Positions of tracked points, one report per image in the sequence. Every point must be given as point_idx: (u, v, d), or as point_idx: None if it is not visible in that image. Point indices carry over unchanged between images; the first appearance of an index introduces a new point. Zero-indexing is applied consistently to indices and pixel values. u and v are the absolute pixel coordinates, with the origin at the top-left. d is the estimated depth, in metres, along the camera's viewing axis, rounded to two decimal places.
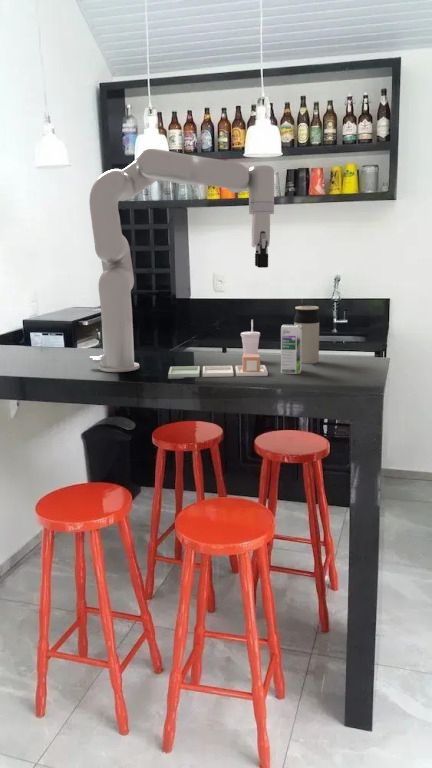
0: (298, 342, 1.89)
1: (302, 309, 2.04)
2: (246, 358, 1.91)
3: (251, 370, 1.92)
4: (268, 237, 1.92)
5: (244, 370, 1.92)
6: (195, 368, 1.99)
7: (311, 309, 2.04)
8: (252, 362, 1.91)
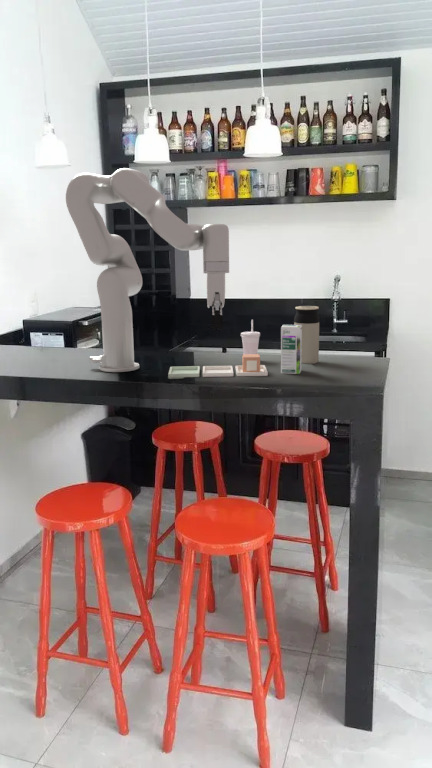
0: (298, 342, 1.89)
1: (302, 309, 2.04)
2: (246, 358, 1.91)
3: (251, 370, 1.92)
4: (222, 298, 1.85)
5: (244, 370, 1.92)
6: (195, 368, 1.99)
7: (311, 309, 2.04)
8: (252, 362, 1.91)
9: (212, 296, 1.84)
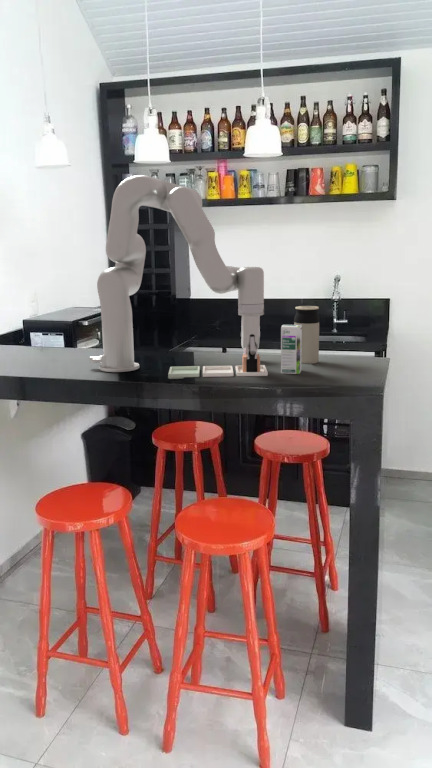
0: (298, 342, 1.89)
1: (302, 309, 2.04)
2: (246, 358, 1.91)
3: None
4: (258, 340, 1.87)
5: (244, 370, 1.92)
6: (195, 368, 1.99)
7: (311, 309, 2.04)
8: None
9: (247, 338, 1.87)
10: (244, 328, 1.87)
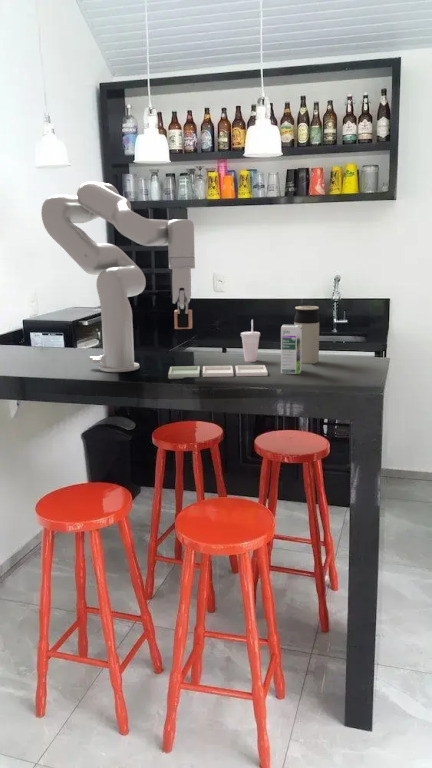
0: (298, 342, 1.89)
1: (302, 309, 2.04)
2: (177, 312, 1.88)
3: None
4: (187, 294, 1.84)
5: (175, 325, 1.89)
6: (195, 368, 1.99)
7: (311, 309, 2.04)
8: None
9: (177, 292, 1.84)
10: (173, 281, 1.84)
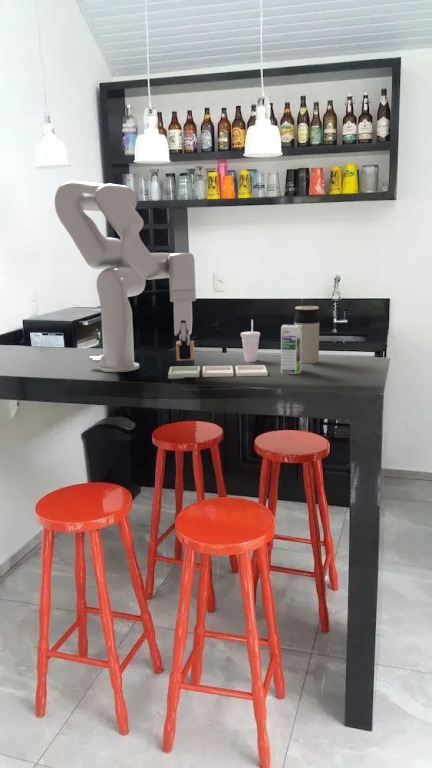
0: (298, 342, 1.89)
1: (302, 309, 2.04)
2: (179, 344, 1.90)
3: None
4: (189, 326, 1.86)
5: (177, 357, 1.91)
6: (195, 368, 1.99)
7: (311, 309, 2.04)
8: None
9: (178, 324, 1.86)
10: (175, 314, 1.86)
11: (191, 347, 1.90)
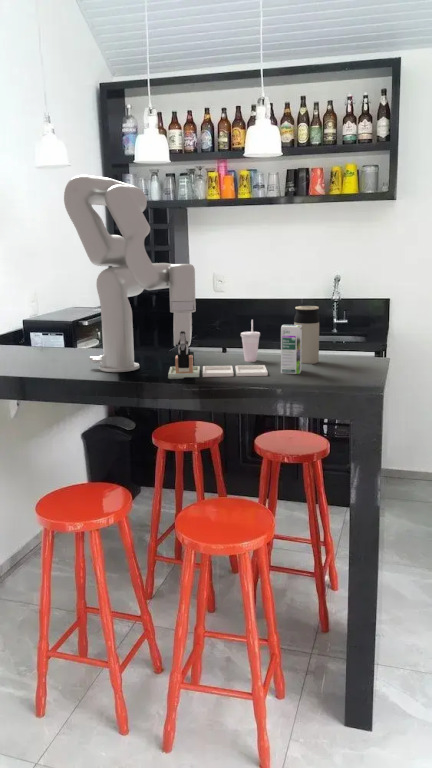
0: (298, 342, 1.89)
1: (302, 309, 2.04)
2: None
3: (183, 371, 1.92)
4: (188, 337, 1.87)
5: (176, 371, 1.92)
6: (195, 368, 1.99)
7: (311, 309, 2.04)
8: None
9: (178, 335, 1.87)
10: (175, 325, 1.87)
11: (190, 362, 1.91)
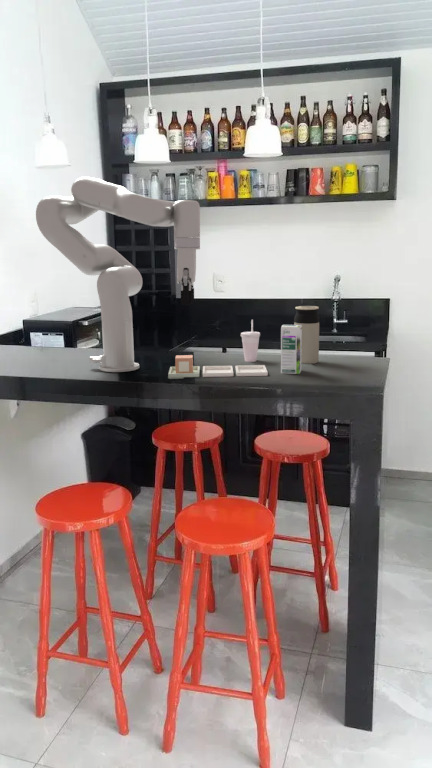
0: (298, 342, 1.89)
1: (302, 309, 2.04)
2: (178, 359, 1.91)
3: (183, 371, 1.92)
4: (192, 274, 1.86)
5: (176, 371, 1.92)
6: (195, 368, 1.99)
7: (311, 309, 2.04)
8: (184, 363, 1.91)
9: (181, 272, 1.86)
10: (178, 261, 1.86)
11: (190, 362, 1.91)
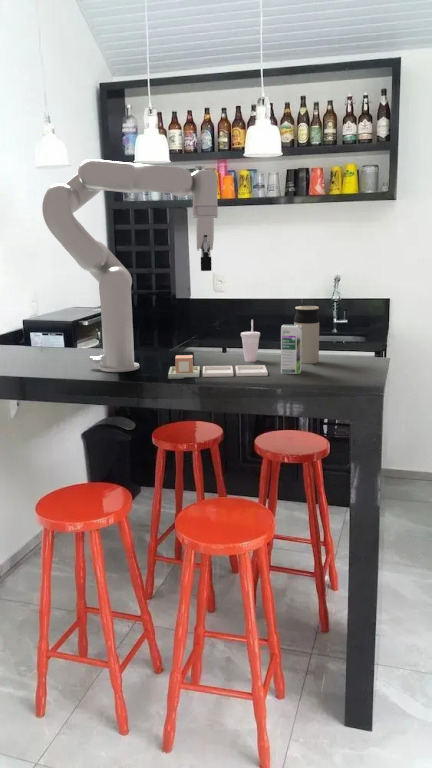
0: (298, 342, 1.89)
1: (302, 309, 2.04)
2: (178, 359, 1.91)
3: (183, 371, 1.92)
4: (211, 241, 1.94)
5: (176, 371, 1.92)
6: (195, 368, 1.99)
7: (311, 309, 2.04)
8: (184, 363, 1.91)
9: (201, 239, 1.94)
10: (198, 229, 1.93)
11: (190, 362, 1.91)
